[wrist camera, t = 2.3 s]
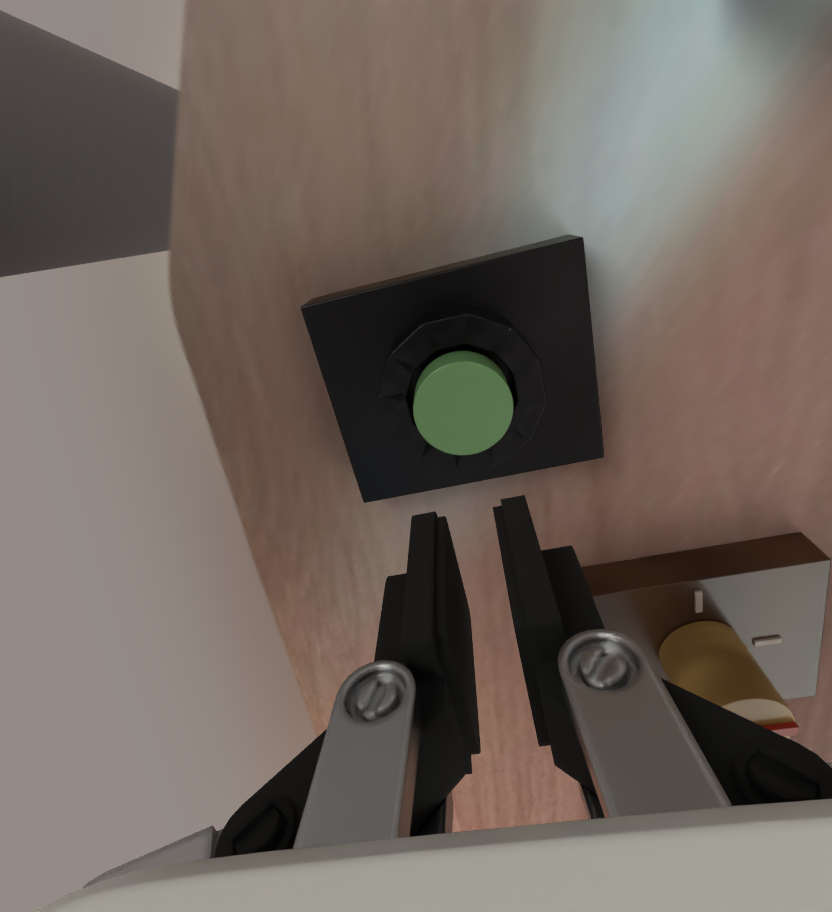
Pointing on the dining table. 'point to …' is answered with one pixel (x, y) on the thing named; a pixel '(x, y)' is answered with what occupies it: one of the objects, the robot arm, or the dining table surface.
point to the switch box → (463, 329)
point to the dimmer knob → (724, 674)
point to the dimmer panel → (726, 601)
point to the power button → (462, 403)
